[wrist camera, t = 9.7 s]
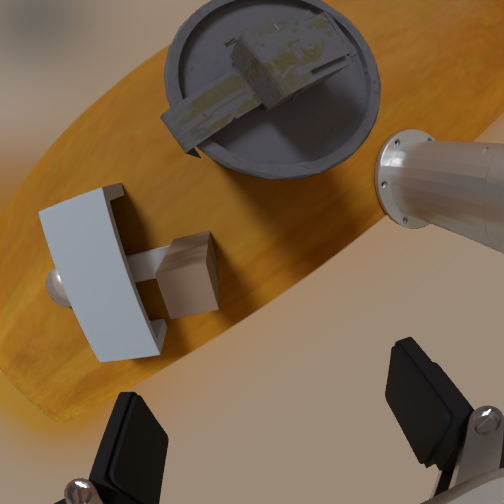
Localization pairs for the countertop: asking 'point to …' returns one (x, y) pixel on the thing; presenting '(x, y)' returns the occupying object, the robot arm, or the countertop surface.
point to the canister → (271, 87)
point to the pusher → (181, 274)
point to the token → (56, 289)
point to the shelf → (100, 277)
